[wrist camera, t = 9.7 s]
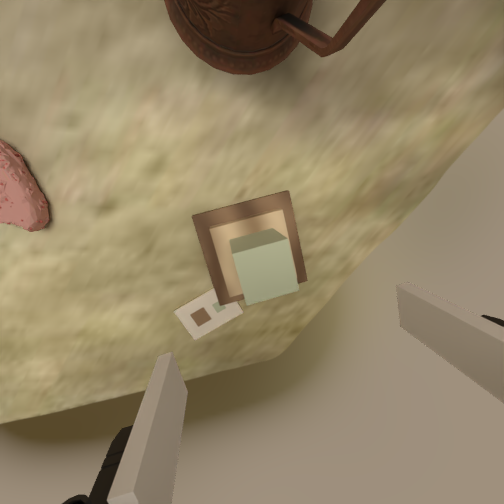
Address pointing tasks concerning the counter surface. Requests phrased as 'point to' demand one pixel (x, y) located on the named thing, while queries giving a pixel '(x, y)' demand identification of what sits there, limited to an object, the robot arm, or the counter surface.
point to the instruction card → (206, 314)
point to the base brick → (240, 224)
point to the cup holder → (257, 31)
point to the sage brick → (264, 265)
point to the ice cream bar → (20, 193)
